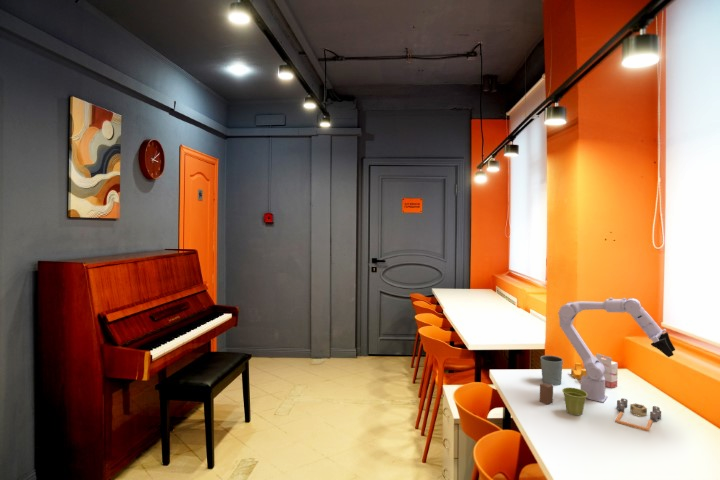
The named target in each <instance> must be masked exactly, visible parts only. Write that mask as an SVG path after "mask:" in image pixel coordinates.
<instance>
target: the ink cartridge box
mask: <svg viewBox="0 0 720 480" xmlns="http://www.w3.org/2000/svg"><path fill="white" fill-rule="evenodd" d="M595 357H596V358H597V359H598V360H599V361H600V362H601V363H603V364H604V365H605V367H606V371H605V373H604V374H603V376H604V378H605V387H607V388H610V389H612V388H617V387H618V371H619V370H618V369H619V368H618V367H619V365H618V362H616V361H613V358H612V357H610V356H606V355H604V354H600V353H598V352H597V353H596V355H595Z"/></svg>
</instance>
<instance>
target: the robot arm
mask: <svg viewBox="0 0 720 480" xmlns="http://www.w3.org/2000/svg"><path fill="white" fill-rule="evenodd" d="M587 310H604V311H606V312H607V313H627V314H629V315H630V316H631V317H632V319H633V320H634V321H635V322H636V324H637V325H638V326H639V327H640V329H641V330H642V331H643V332H644V334H646V336H647V337H648V338H649V340H651V341H652V343H650V345H651V346H652V347H653V348H656V349H657V350H659V351H660V352H661V353H662V354H664V356H666V357H668V358H671V357H672V356H674V355H675V354H674V353H673V352H675V351H676V348H675V346H674V344H673V343H672V340H671V339H670V335H669V332H668V331H667V329H666V328H664V329H662V328H661V327H660V326H659V324H658V323H657V322H656V320H654V318H653V317H652V316H651V315H650V314H649V313H648V311H646V310H645V308H644V307H643V306H642V305H641V302H640V300H639V299H637V298H632V297H629V298H628V299H627V298H626V297H623V298H614V297H609V298H607V299H605V300H604V301H587V300H586V301H581V300H580V301H568V302H567V303H566V304H562V305H561V306H560V308H559V310H558V312H557V313H558V318H559V319H558V320H559V327H560V328H561V330H562V331H563V334H564V335H565V336H566V337H567V339H568V340H569V342H570V344H571V345H572V347H573V348H574V350H575V351H576V353H577V354H578V356H579V357H580V359H581V360H582V364H583V365H582V366H583V368H584V370H586V373H587V376H582V378H581V381H580V390H583V391H585V392H586V393H587V394H588V395H587V397H586V399H587V400H588V399H589V400H591V401H595V402H599V403H605V401H606V400H607V398H608V396H607V395H606V386H605V378H604V376H603V374H604V373H605V371H606V367H605V365H604V364H603V363H601V362H600V361H599V360H598V359H597V358H596V355H594V354H593V353H592V351H591V350H590V349H589V347H588V345H587V344H586V343H585V341H584V340H583V337H581V335H580V334H579V332H578V331H577V329H576V327H575V326H574V325H573V323H574V322H575V321H574V320H575V317H576V316H577V315H578V313H581V312H583V311H587ZM666 331H667V332H666Z"/></svg>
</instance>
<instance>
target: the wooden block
mask: <svg viewBox="0 0 720 480" xmlns="http://www.w3.org/2000/svg"><path fill="white" fill-rule="evenodd" d="M539 402H541V403H542V404H544V405H550V404H551V405H552V404H553V403H554V385H550V384H548V383H544V382H542V383H540V384H539Z"/></svg>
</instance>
